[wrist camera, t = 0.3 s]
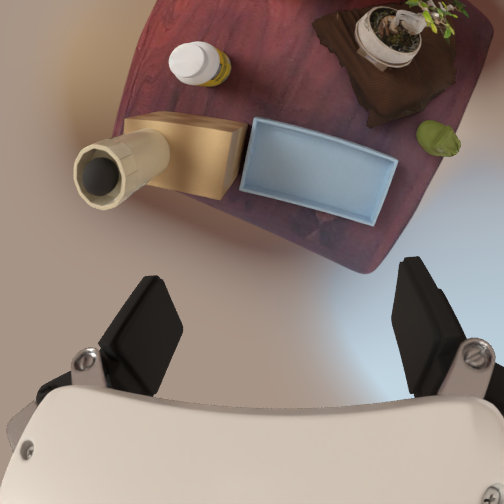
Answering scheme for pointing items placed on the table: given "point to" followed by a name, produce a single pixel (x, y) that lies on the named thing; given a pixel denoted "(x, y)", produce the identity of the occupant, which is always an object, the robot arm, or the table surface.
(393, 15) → the potted plant
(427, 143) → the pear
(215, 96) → the table surface
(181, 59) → the pill bottle
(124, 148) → the jar
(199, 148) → the plinth
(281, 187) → the tray
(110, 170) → the ball
